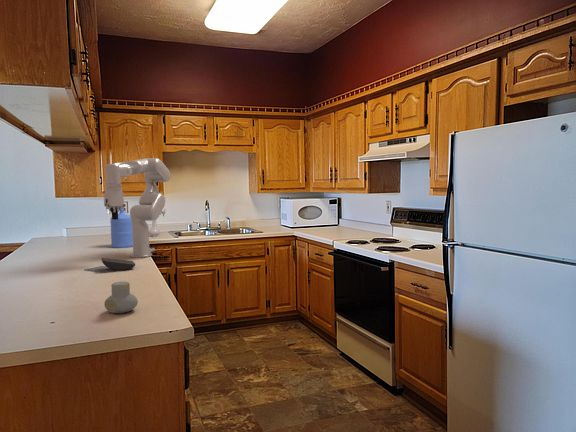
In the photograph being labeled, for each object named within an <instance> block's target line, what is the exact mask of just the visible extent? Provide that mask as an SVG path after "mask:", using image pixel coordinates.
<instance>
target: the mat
mask: <svg viewBox="0 0 576 432" xmlns="http://www.w3.org/2000/svg"><path fill="white" fill-rule="evenodd" d="M83 270H84V271H87V272H96V273H104V274H106V273H113V272H116V271H117V270H113V269H110V268H108V267H106V266H105V265H99V266H94V267H90V268H86V269H85V268H84V269H83Z"/></svg>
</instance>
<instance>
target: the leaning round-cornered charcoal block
mask: <svg viewBox="0 0 576 432" xmlns="http://www.w3.org/2000/svg"><path fill="white" fill-rule="evenodd" d="M101 262H102V264H103V266H106V267H108V268H110V269H113V270H116V271H123V272H124V271H128V270H131V269H133V268H134V267H135V266H136V263H135V262H134V261H133V260H127V259H126V260H125V259H120V258H119V259H118V258H109V257H108V258H107V257H102V258H101Z"/></svg>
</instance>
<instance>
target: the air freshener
mask: <svg viewBox="0 0 576 432" xmlns="http://www.w3.org/2000/svg"><path fill="white" fill-rule="evenodd" d="M130 285H131V284H130V282H129V281H116V282H113V283H112V284H111V295H109V296H108V297H107V298H106V299H105V300H104V308H105V310H107V311H108V312H110V313H112V314H114V313H120V314H124V313H125V312H126V313H129V312H131V311H133V310H134V309H135V308H136V307H137V306H138V304H139V303H138V302H139V300H138V297H136V296H135V295H134V294H132V293H131V291H130V289H131V287H130Z"/></svg>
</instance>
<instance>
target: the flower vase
mask: <svg viewBox="0 0 576 432" xmlns="http://www.w3.org/2000/svg"><path fill="white" fill-rule="evenodd" d="M165 214H166V209H165V210H162V212H161V213H160V215H159V216H161V215H162V216H163V217H165ZM151 223H152V225H151V227H150V228H149V236H150V237H153V238H154V237H159V235H160V234H161V230H160V229H159V228H158V227H157V219H156V220H154V221H152V222H151Z"/></svg>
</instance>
